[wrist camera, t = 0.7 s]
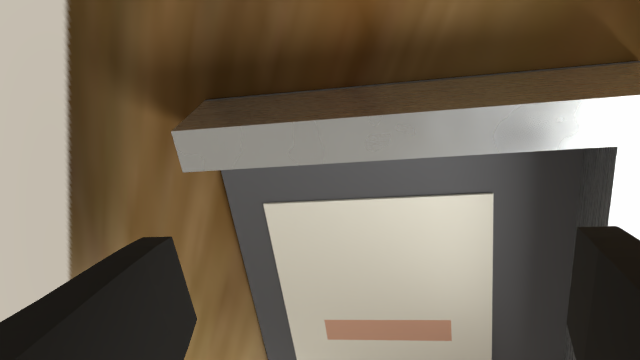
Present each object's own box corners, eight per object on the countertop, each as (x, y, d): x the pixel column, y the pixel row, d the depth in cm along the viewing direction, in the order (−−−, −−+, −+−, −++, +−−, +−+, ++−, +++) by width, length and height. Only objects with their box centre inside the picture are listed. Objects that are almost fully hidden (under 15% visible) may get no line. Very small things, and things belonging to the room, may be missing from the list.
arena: (591, 412, 24) (615, 479, 21) (280, 401, 27) (264, 458, 24) (639, 60, 17) (685, 91, 14) (205, 99, 20) (170, 131, 17)
